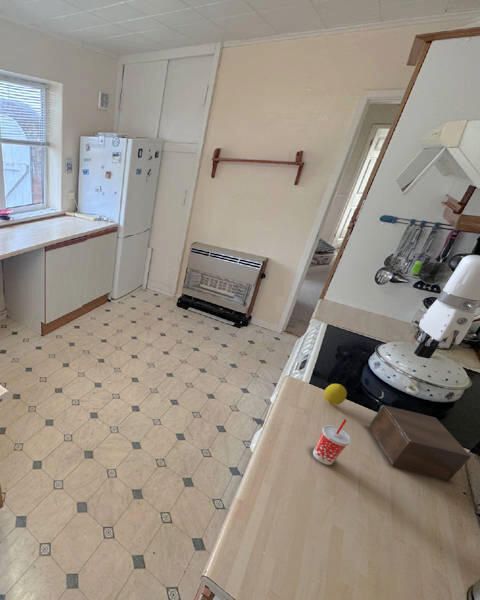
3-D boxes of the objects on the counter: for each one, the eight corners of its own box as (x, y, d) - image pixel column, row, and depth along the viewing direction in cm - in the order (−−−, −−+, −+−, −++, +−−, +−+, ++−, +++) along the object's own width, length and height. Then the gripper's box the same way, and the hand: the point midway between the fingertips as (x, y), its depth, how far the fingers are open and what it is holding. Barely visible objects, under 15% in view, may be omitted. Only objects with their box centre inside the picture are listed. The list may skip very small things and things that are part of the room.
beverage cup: (339, 470, 84) (364, 432, 78) (313, 462, 86) (335, 425, 80) (331, 451, 89) (354, 415, 83) (306, 444, 91) (327, 408, 85)
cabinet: (368, 428, 99) (383, 404, 94) (417, 441, 95) (435, 417, 91) (391, 465, 87) (410, 440, 83) (448, 481, 84) (471, 456, 79)
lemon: (341, 403, 108) (351, 385, 104) (338, 412, 104) (349, 393, 100) (321, 394, 111) (331, 376, 107) (319, 402, 107) (329, 384, 104)
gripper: (497, 316, 80) (454, 374, 88) (455, 293, 93) (421, 345, 101) (460, 309, 82) (421, 367, 90) (424, 288, 94) (393, 340, 103)
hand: (421, 355), depth 95 cm, fingers closed
